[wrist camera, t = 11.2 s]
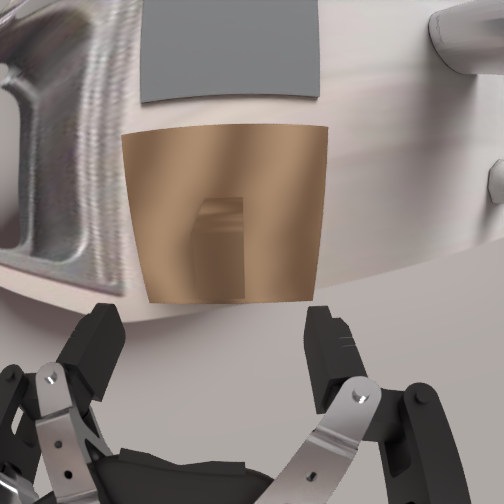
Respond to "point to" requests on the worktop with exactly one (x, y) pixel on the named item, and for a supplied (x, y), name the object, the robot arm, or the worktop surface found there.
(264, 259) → the lid
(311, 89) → the mat
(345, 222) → the worktop surface
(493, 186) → the flask
